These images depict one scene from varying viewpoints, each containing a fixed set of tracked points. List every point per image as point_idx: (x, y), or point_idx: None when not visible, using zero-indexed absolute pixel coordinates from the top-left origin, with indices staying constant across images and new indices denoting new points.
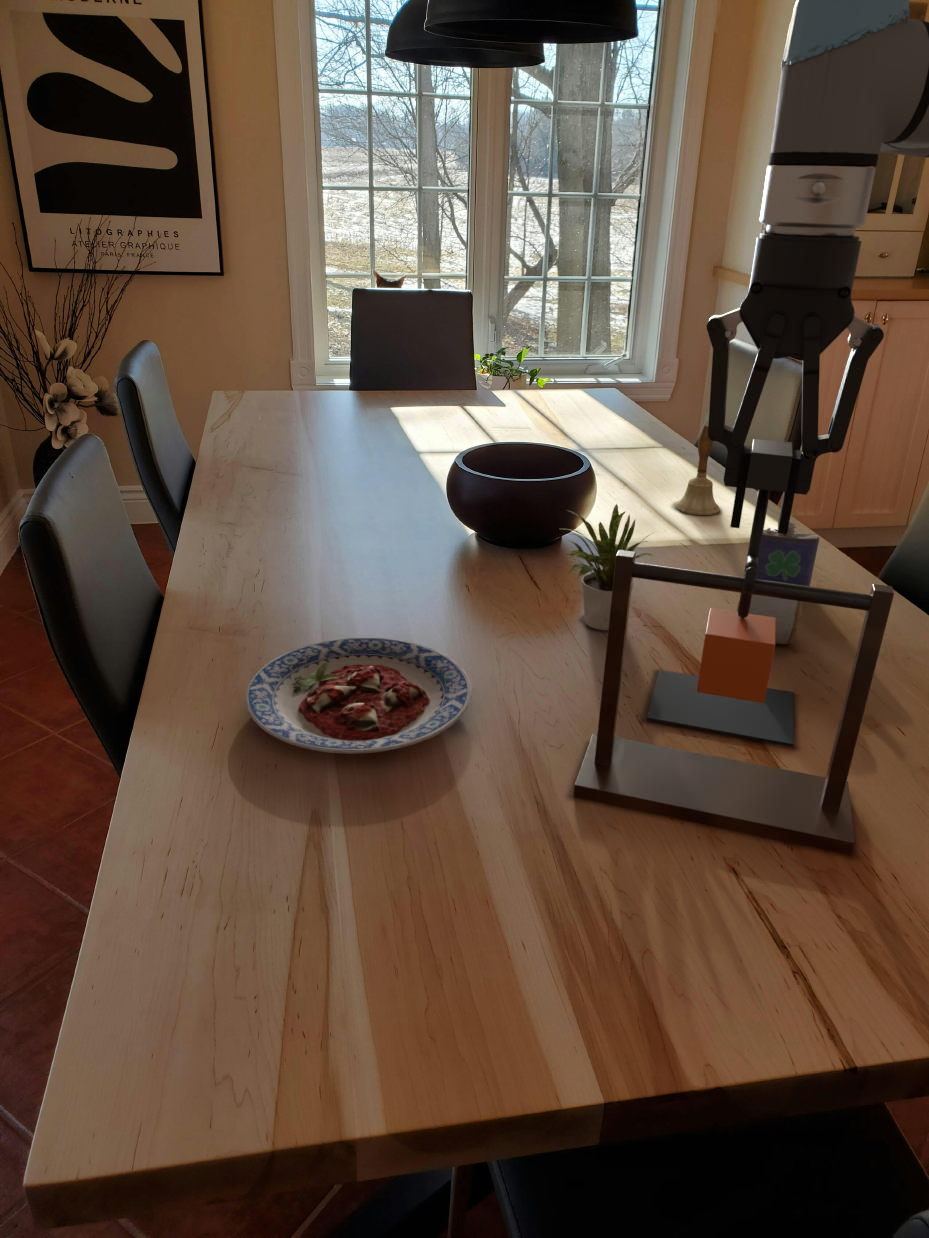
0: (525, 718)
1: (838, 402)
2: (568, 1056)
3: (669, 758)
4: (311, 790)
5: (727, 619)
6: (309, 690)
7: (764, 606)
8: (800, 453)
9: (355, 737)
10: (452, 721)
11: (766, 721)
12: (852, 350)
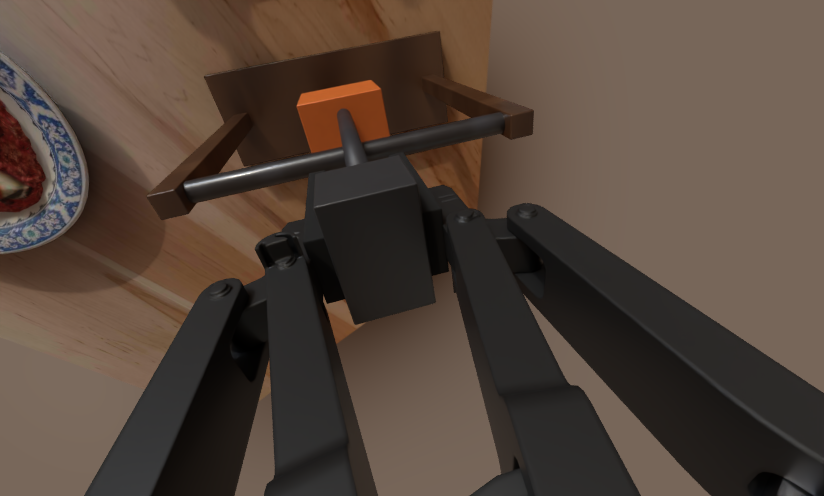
0: (112, 61)
1: (574, 339)
2: (350, 315)
3: (291, 82)
4: (77, 261)
5: (329, 131)
6: None
7: None
8: (444, 239)
9: (28, 206)
10: (78, 147)
11: None
12: (768, 464)
